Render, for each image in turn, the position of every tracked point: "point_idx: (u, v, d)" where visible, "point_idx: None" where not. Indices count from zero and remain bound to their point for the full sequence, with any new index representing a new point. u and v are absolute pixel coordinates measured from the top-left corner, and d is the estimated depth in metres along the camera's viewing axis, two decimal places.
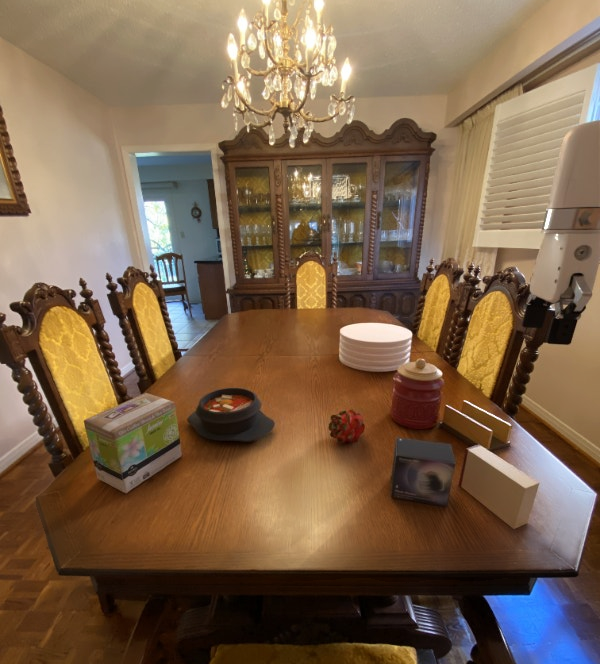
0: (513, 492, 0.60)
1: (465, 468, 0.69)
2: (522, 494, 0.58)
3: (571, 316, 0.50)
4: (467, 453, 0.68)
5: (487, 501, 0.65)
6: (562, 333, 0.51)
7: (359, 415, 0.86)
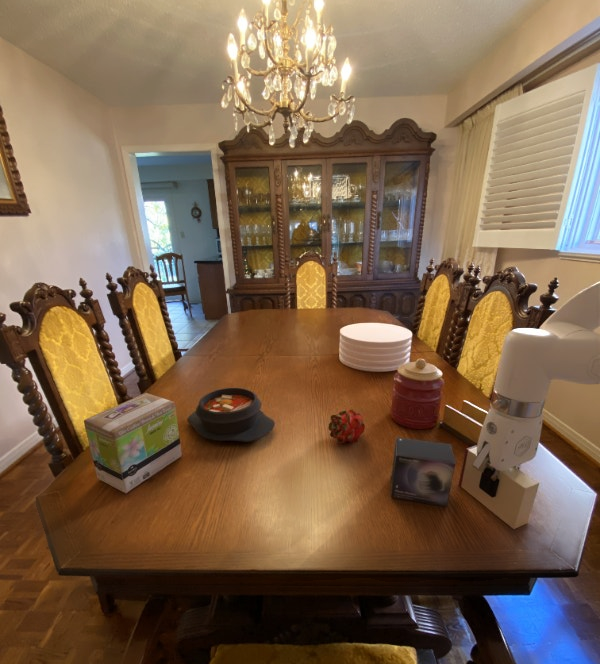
0: (513, 492, 0.60)
1: (465, 468, 0.69)
2: (522, 494, 0.58)
3: (485, 474, 0.62)
4: (467, 453, 0.68)
5: (487, 501, 0.65)
6: (484, 484, 0.64)
7: (359, 415, 0.86)
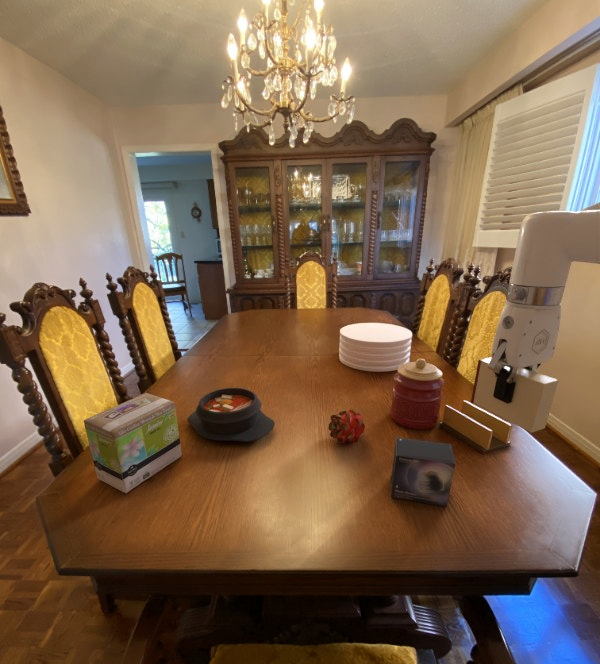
0: (531, 392, 0.57)
1: (478, 381, 0.66)
2: (541, 391, 0.55)
3: (500, 377, 0.59)
4: (480, 365, 0.65)
5: (502, 411, 0.62)
6: (499, 391, 0.61)
7: (359, 415, 0.86)
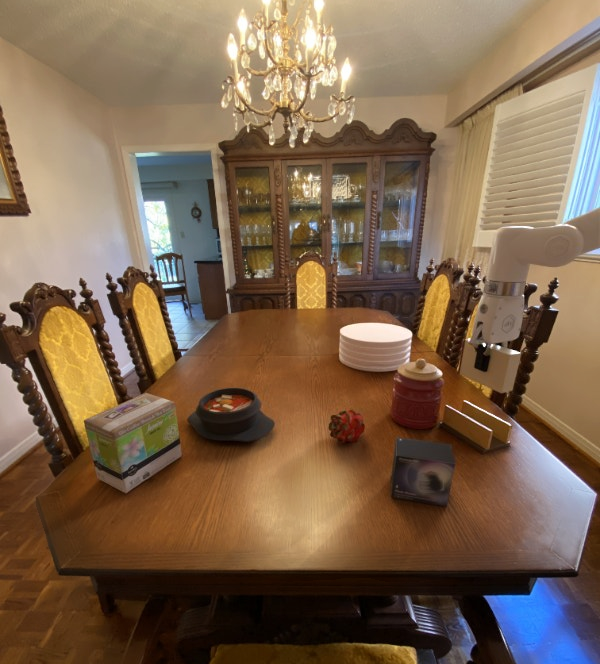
0: (501, 362, 0.75)
1: (463, 356, 0.84)
2: (508, 361, 0.74)
3: (479, 352, 0.78)
4: (464, 343, 0.83)
5: (480, 378, 0.81)
6: (478, 362, 0.79)
7: (359, 415, 0.86)
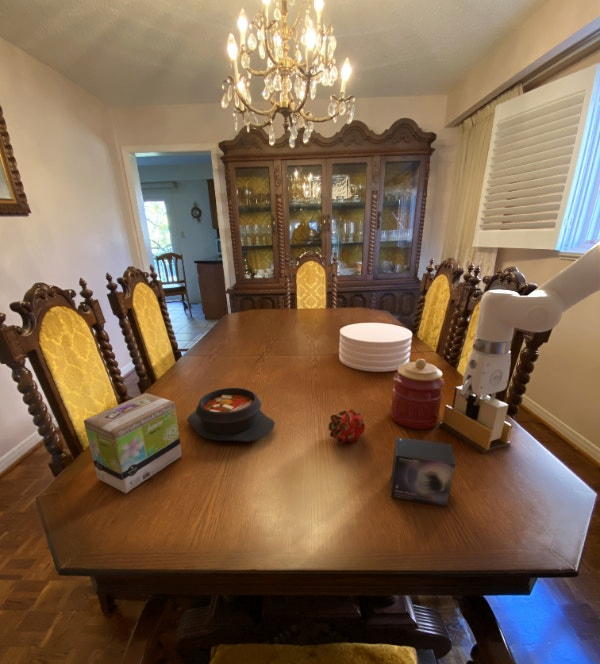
0: (489, 413, 0.81)
1: (455, 402, 0.90)
2: (495, 412, 0.79)
3: (469, 401, 0.83)
4: (456, 390, 0.89)
5: None
6: (468, 411, 0.85)
7: (359, 415, 0.86)
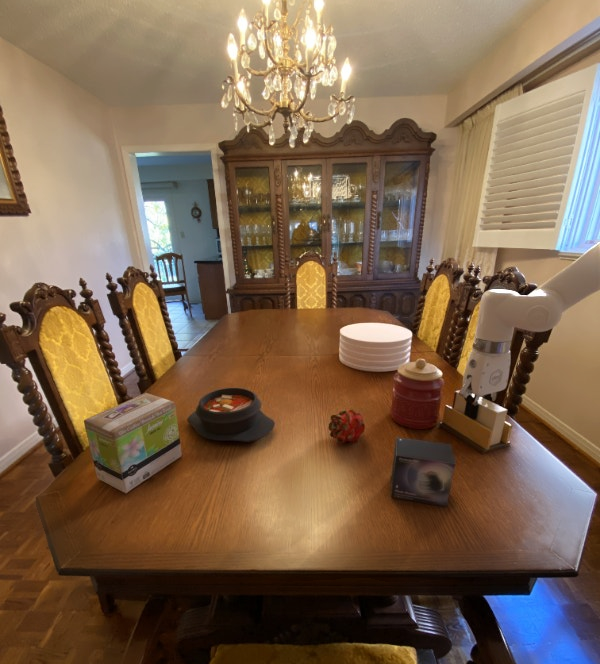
0: (488, 418, 0.81)
1: (454, 407, 0.90)
2: (495, 417, 0.80)
3: (468, 401, 0.83)
4: (456, 395, 0.89)
5: None
6: (467, 410, 0.84)
7: (359, 415, 0.86)
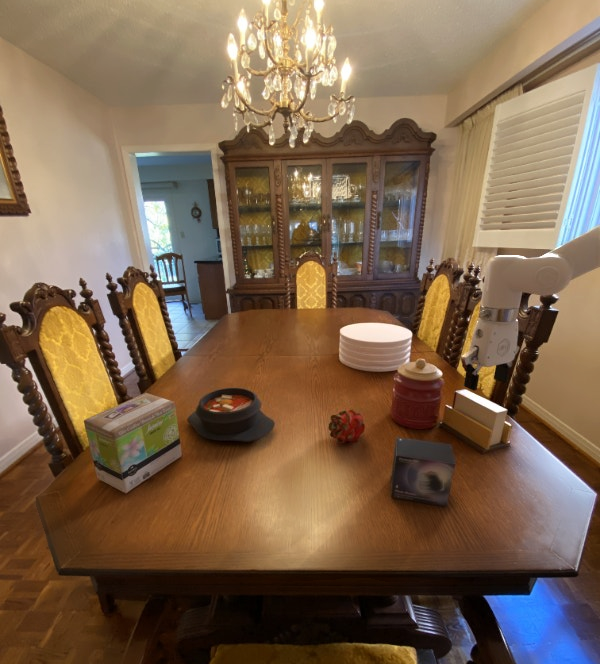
0: (488, 418, 0.81)
1: (454, 407, 0.90)
2: (495, 417, 0.80)
3: (468, 371, 0.79)
4: (456, 395, 0.89)
5: None
6: (467, 381, 0.80)
7: (359, 415, 0.86)
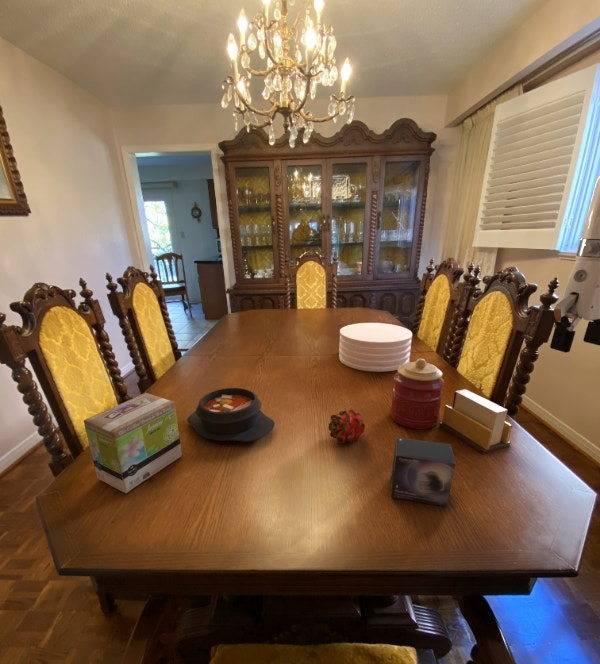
0: (488, 418, 0.81)
1: (454, 407, 0.90)
2: (495, 417, 0.80)
3: (560, 326, 0.61)
4: (456, 395, 0.89)
5: None
6: (557, 340, 0.62)
7: (359, 415, 0.86)
